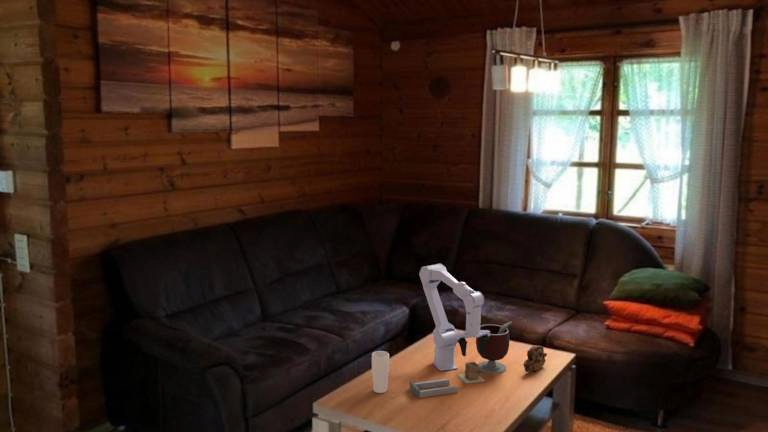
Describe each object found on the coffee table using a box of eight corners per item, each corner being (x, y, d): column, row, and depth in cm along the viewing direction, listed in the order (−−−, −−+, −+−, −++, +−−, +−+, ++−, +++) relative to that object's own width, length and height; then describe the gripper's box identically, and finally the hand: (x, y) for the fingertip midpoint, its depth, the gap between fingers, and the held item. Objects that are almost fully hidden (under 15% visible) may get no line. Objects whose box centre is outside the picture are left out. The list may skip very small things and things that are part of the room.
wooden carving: (532, 377, 259) (533, 354, 257) (522, 374, 262) (523, 351, 260) (548, 365, 272) (549, 342, 270) (538, 362, 274) (539, 340, 273)
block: (465, 376, 257) (465, 362, 256) (473, 375, 259) (474, 361, 258) (469, 380, 254) (469, 366, 253) (478, 379, 255) (478, 365, 254)
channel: (409, 389, 246) (409, 381, 246) (448, 383, 251) (448, 376, 251) (417, 397, 239) (417, 389, 238) (456, 392, 244) (457, 384, 243)
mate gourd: (483, 376, 259) (485, 329, 256) (469, 363, 272) (471, 318, 269) (517, 372, 263) (519, 326, 260) (502, 359, 276) (504, 316, 273)
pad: (457, 375, 259) (457, 374, 259) (475, 373, 262) (475, 372, 262) (466, 383, 252) (466, 382, 252) (484, 381, 254) (484, 380, 254)
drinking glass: (391, 388, 246) (391, 352, 244) (385, 395, 240) (386, 358, 238) (374, 385, 249) (375, 349, 246) (368, 392, 242) (369, 355, 240)
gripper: (461, 327, 247) (460, 360, 249) (494, 323, 251) (493, 355, 253) (453, 321, 253) (452, 353, 255) (485, 318, 258) (484, 349, 260)
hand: (472, 354), depth 255 cm, fingers open, 7 cm apart
